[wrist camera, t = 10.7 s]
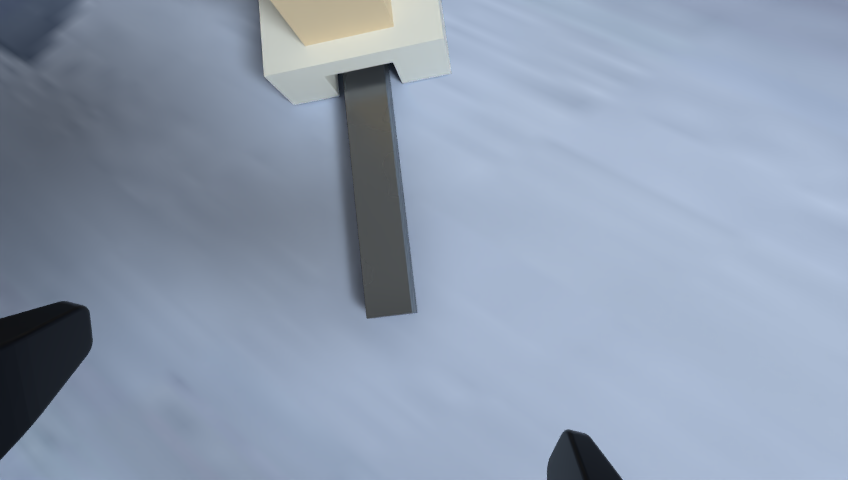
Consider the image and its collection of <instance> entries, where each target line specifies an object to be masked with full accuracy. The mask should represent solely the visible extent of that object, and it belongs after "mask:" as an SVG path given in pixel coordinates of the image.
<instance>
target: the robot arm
mask: <svg viewBox="0 0 848 480" xmlns="http://www.w3.org/2000/svg"><path fill="white" fill-rule="evenodd" d="M92 342H93V338H92V329H91V320H90V312H89V310H88V308H87V307H85V306H83V305H79V304H76V303H72V302H68V301H61V302H57V303H53V304H50V305H46V306H43V307H39V308H36V309H32V310H29V311H25V312H22V313H18V314H15V315H11V316H8V317H4V318H1V319H0V460H1V459H2V458H3V457H4V455H5V454H6V453H7V452H8V451H9V450H10V449H11V448H12V447H13V446H14V445H15V444H16V443H17V442H18V441H19V439H20V438H21V437H22V436H23V435H24V434H25V433H26V432H27V431H28V429H29V428H30V427H31V426H32V425H33V424H34V422H35V421H36V420H37V419H38V418H39V416H40V415H41V414H42V413H43V411H44V410H45V409H46V408H47V406H48V405H49V404H50V402H51V401H52V400H53V399H54V397H55V396H56V395H57V393H58V392H59V391H60V390H61V388H62V387H63V386H64V384H65V383H66V382H67V381H68V379H69V378H70V377H71V375H72V374H73V373H74V372H75V370H76V369H77V368H78V366H79V365H80V364H81V363H82V361H83V360H84V359H85V357H86V356H87V355H88V353H89V351H90V349H91V347H92ZM547 480H623V479H622V478H621V477H620V475H619V474H618V473H617V472H616V470H615V469H614V468H613V466H612V465H611V464H610V462H609V461H608V460H607V458H606V457H605V456H604V454H603V453H602V452H601V450H600V449H599V448H598V447H597V445H596V444H595V443H594V441H593V440H592V439H591V437H590V436H588V435H587V434H585V433H581V432H577V431H573V430H565V431H564V432H563V433H562V435H561V436H560V438H559V440H558V442H557V444H556V446H555V448H554V450H553V452H552V454H551V456H550V458H549V462H548V467H547Z"/></svg>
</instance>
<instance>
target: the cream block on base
mask: <svg viewBox="0 0 848 480" xmlns="http://www.w3.org/2000/svg"><path fill="white" fill-rule="evenodd" d="M259 12H260V26H261V40H262V55H263V69H264V77H265V78H266V79H267V80H268V81H269V82H270V83H271V84H272V85H274V86H275V87H276V88H277V89H278V90H279V91H280V92H281V93H282V94H283V95H284V96H285V97H286V98H287V99H288V100H289V101H290V102H291V103H292V104H293V105H298V104H303V103H308V102H313V101H318V100H323V99H328V98H333V97H338V96H340V95H339V85H338V75H337V74H339V73H344V72H349V71H353V70H358V69H363V68H368V67H373V66H377V65H382V64H387V63H392V62H393V64H394V66H395V68H396V70H397V72H398V74H399V77H400V79H401V81H402V83H407V82H412V81H417V80H422V79H427V78H432V77H437V76H442V75H447V74H452V73H451V65H450V58H449V51H448V44H447V37H446V30H445V23H444V16H443V9H442V2H441V0H259Z"/></svg>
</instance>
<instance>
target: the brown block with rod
mask: <svg viewBox="0 0 848 480" xmlns="http://www.w3.org/2000/svg"><path fill="white" fill-rule="evenodd" d="M342 74H343V84H344V95H345V105H346V115H347V125H348V135H349V145H350V155H351V165H352V175H353V185H354V195H355V205H356V216H357V226H358V236H359V246H360V256H361V266H362V276H363V286H364V296H365V306H366V316H367V318H379V317H387V316H395V315H403V314H411V313H417V305H416V297H415V288H414V280H413V271H412V263H411V254H410V246H409V237H408V229H407V220H406V212H405V203H404V194H403V186H402V177H401V169H400V160H399V152H398V143H397V135H396V126H395V118H394V109H393V100H392V92H391V83H390V75H389V66H388V63H387V64H382V65H377V66H373V67H368V68H363V69H358V70H353V71H349V72H344V73H342Z"/></svg>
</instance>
